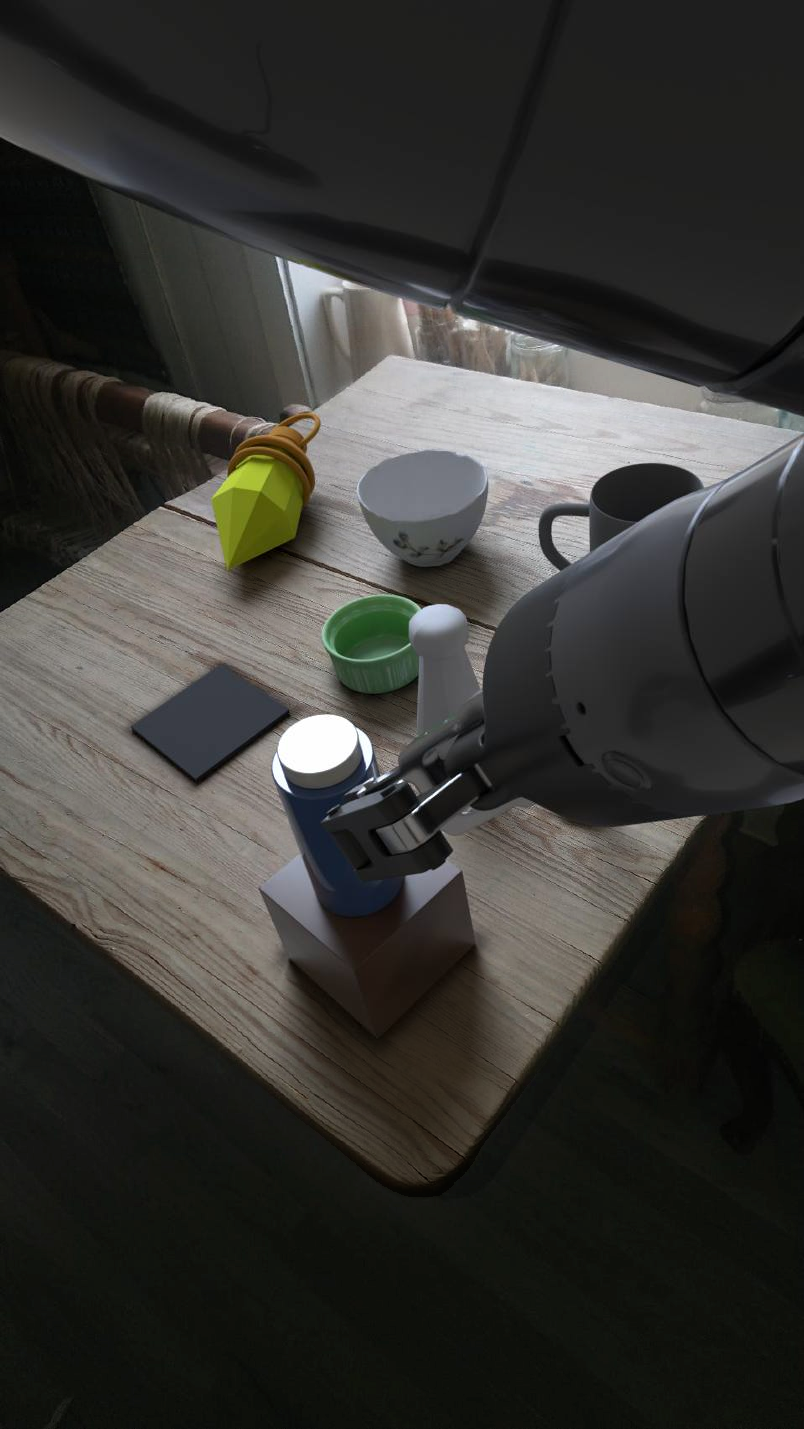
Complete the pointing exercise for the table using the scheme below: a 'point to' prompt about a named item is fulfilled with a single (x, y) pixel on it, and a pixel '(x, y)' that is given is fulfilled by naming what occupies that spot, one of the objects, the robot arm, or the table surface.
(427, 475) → the teacup
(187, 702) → the coaster
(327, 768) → the blue cylinder
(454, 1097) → the table surface
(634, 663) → the robot arm
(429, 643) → the salt shaker
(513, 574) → the table surface
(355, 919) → the cube
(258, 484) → the plumb bob
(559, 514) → the mug
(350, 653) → the ramekin
